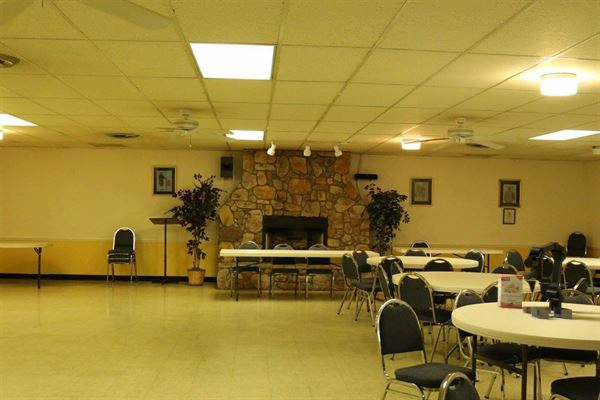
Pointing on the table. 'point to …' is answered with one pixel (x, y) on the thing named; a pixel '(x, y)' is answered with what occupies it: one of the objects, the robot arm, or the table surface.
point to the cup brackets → (558, 313)
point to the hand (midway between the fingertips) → (536, 293)
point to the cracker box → (510, 290)
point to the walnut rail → (528, 308)
